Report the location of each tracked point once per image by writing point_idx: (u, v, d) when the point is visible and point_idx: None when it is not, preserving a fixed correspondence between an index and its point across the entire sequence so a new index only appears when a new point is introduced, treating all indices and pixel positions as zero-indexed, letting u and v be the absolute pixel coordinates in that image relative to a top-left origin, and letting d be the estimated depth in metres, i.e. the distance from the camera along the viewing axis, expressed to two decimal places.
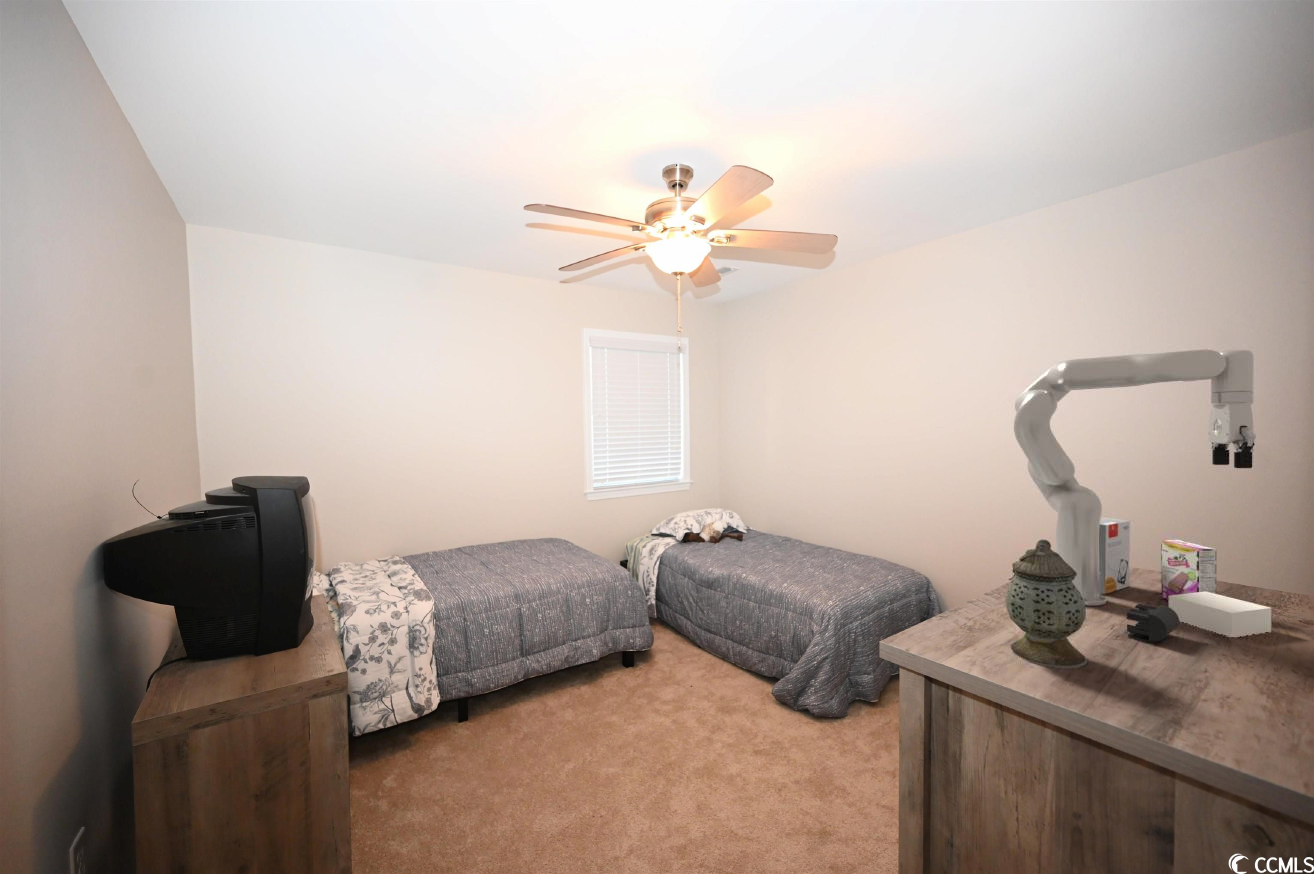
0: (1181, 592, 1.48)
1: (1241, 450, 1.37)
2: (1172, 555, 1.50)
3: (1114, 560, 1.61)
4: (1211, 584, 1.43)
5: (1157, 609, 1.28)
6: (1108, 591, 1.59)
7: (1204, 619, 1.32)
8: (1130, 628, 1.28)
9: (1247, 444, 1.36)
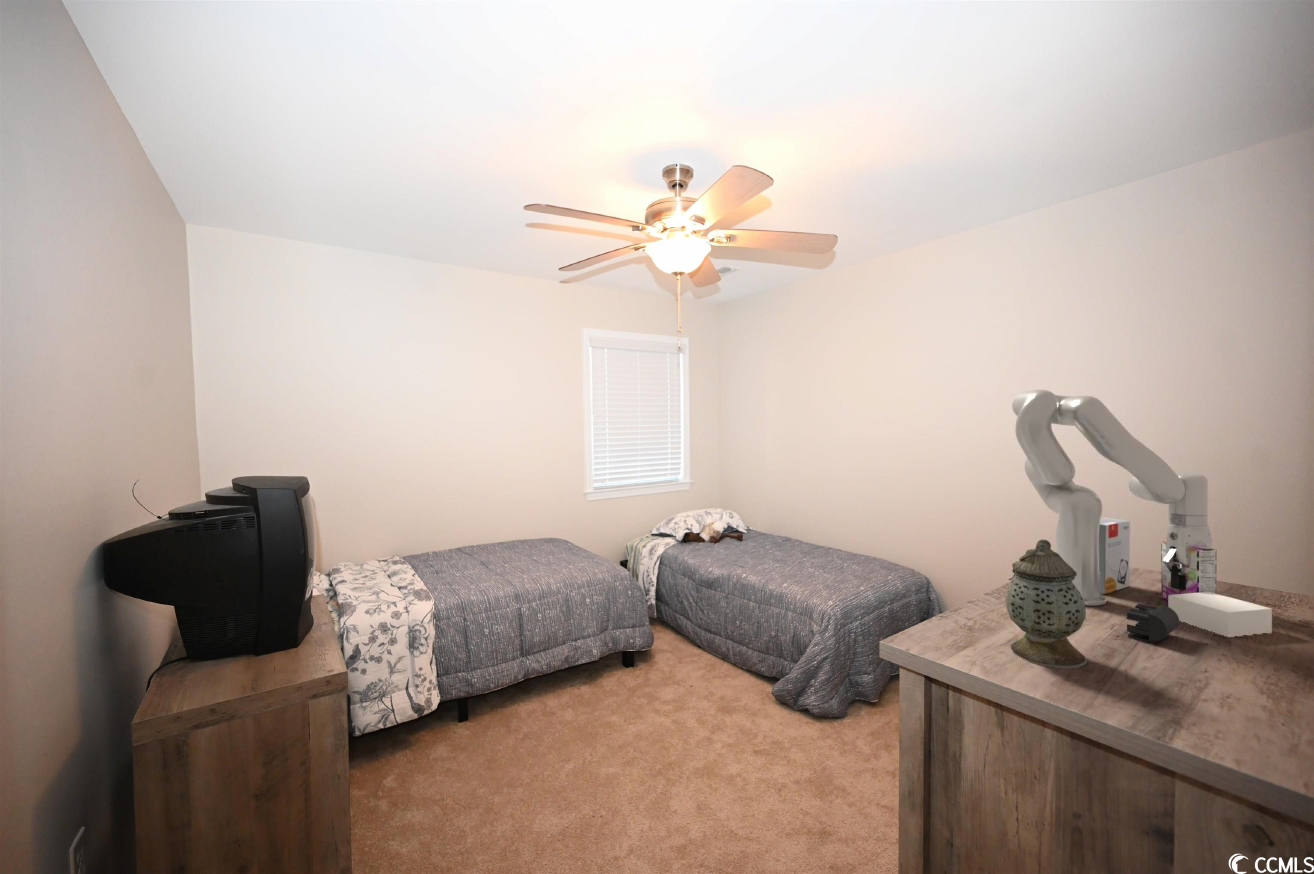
0: (1181, 592, 1.48)
1: None
2: None
3: (1114, 560, 1.61)
4: (1211, 584, 1.43)
5: (1157, 609, 1.28)
6: (1108, 591, 1.59)
7: (1202, 618, 1.33)
8: (1130, 628, 1.28)
9: None
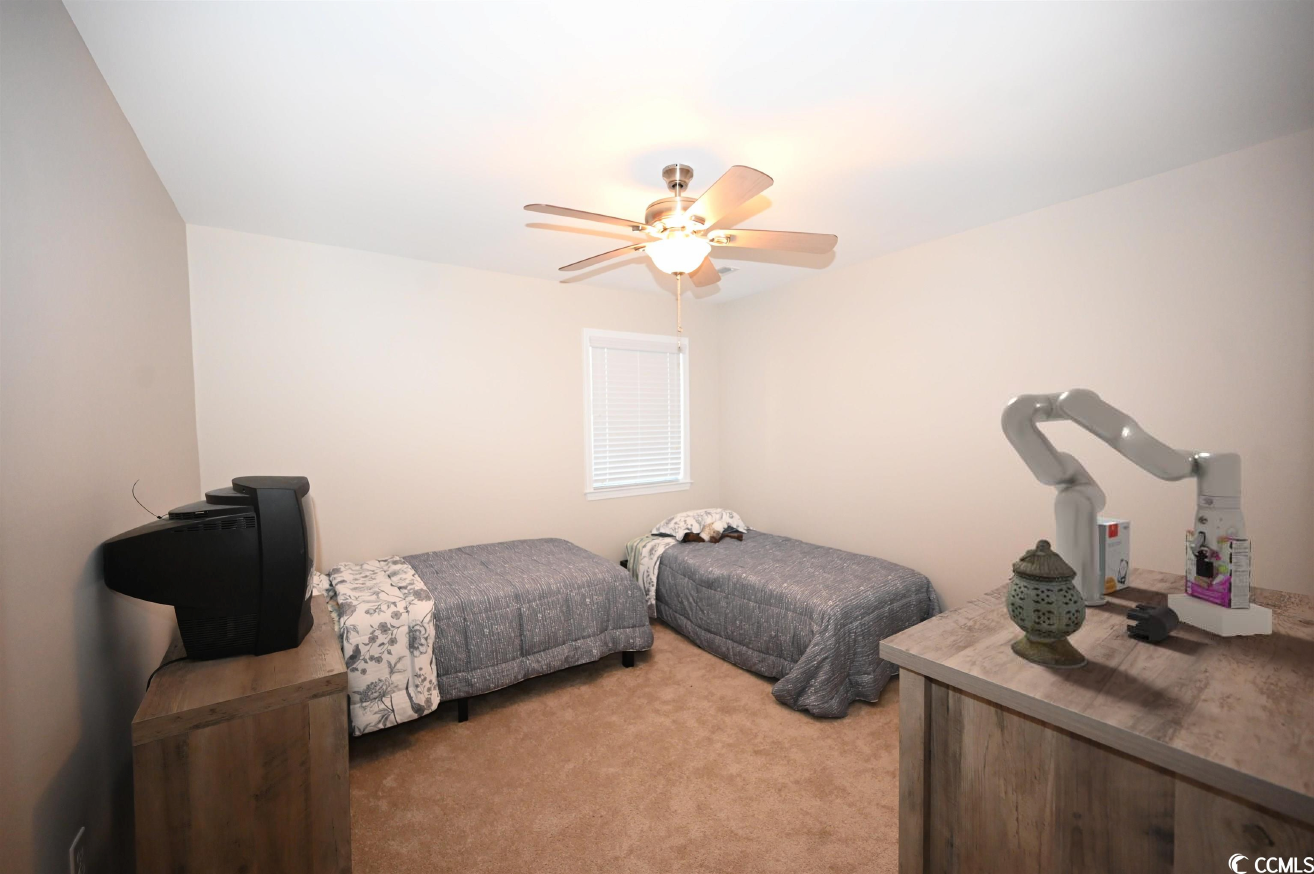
0: (1210, 587, 1.34)
1: None
2: None
3: (1114, 560, 1.61)
4: (1245, 578, 1.29)
5: (1157, 609, 1.28)
6: (1108, 591, 1.59)
7: (1198, 618, 1.33)
8: (1130, 628, 1.28)
9: None
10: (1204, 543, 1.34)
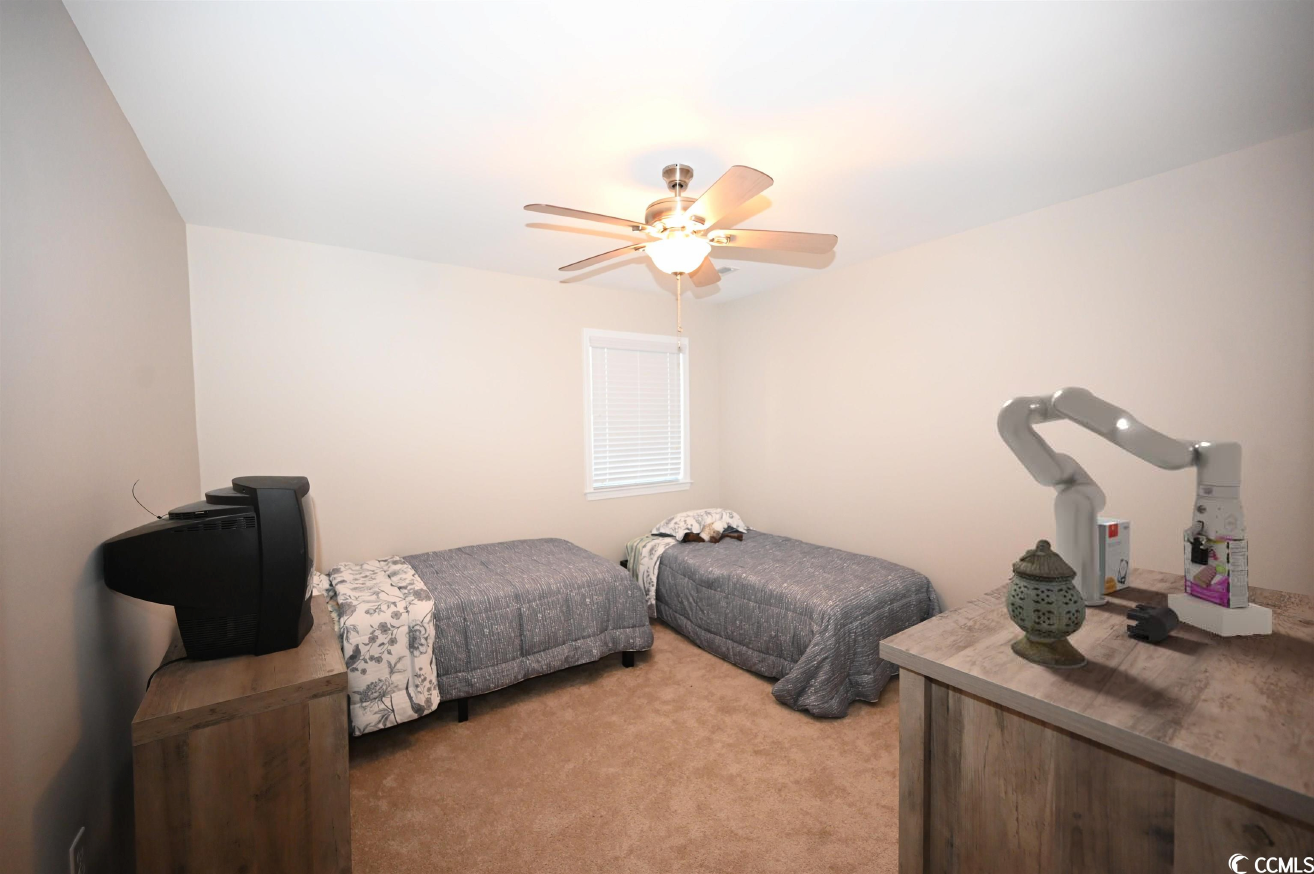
0: (1208, 587, 1.34)
1: None
2: None
3: (1114, 560, 1.61)
4: (1243, 577, 1.29)
5: (1157, 609, 1.28)
6: (1108, 591, 1.59)
7: (1199, 617, 1.33)
8: (1130, 628, 1.28)
9: None
10: (1202, 532, 1.34)
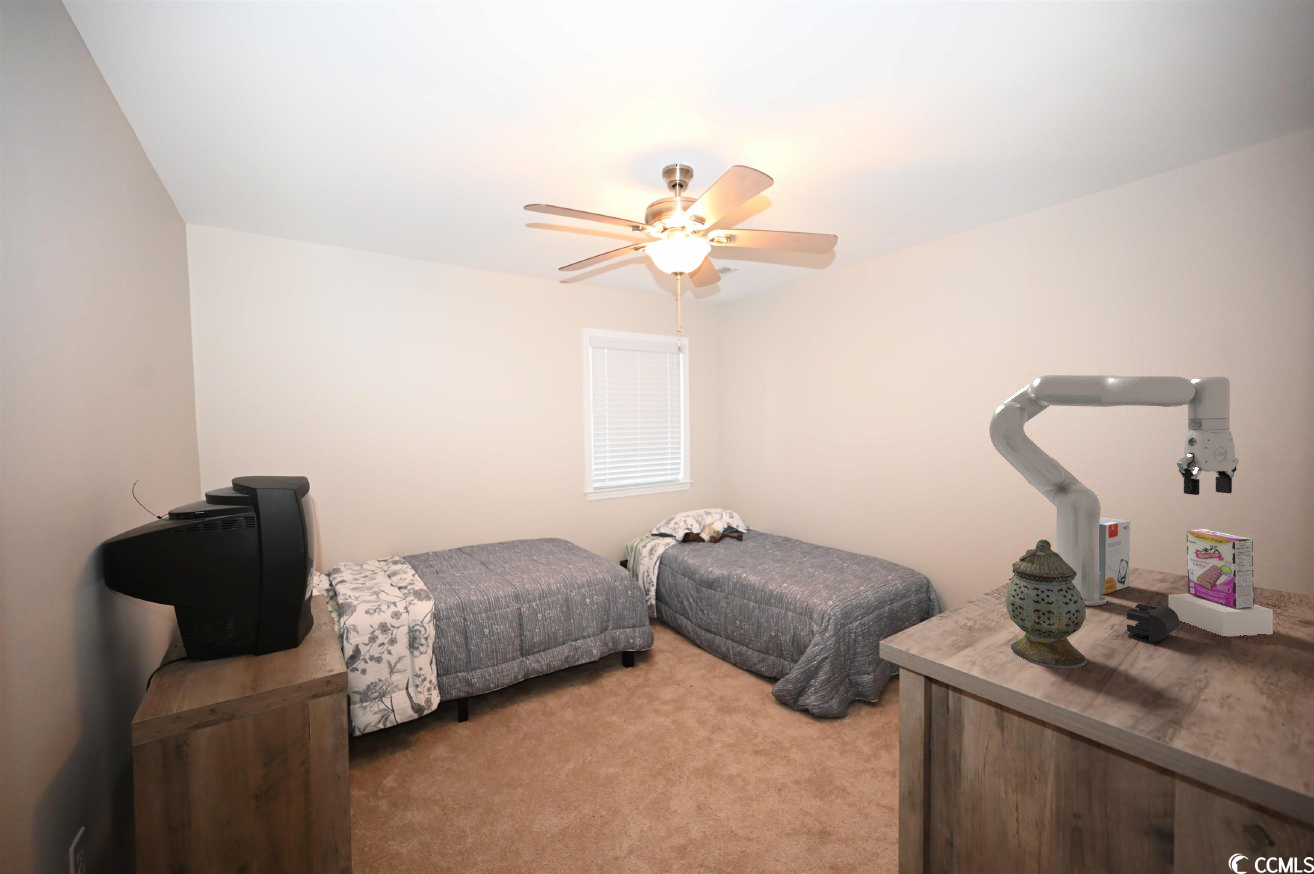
0: (1213, 587, 1.33)
1: None
2: (1201, 547, 1.35)
3: (1114, 560, 1.61)
4: (1248, 577, 1.29)
5: (1157, 609, 1.28)
6: (1108, 591, 1.59)
7: (1199, 618, 1.33)
8: (1130, 628, 1.28)
9: None
10: (1194, 464, 1.41)
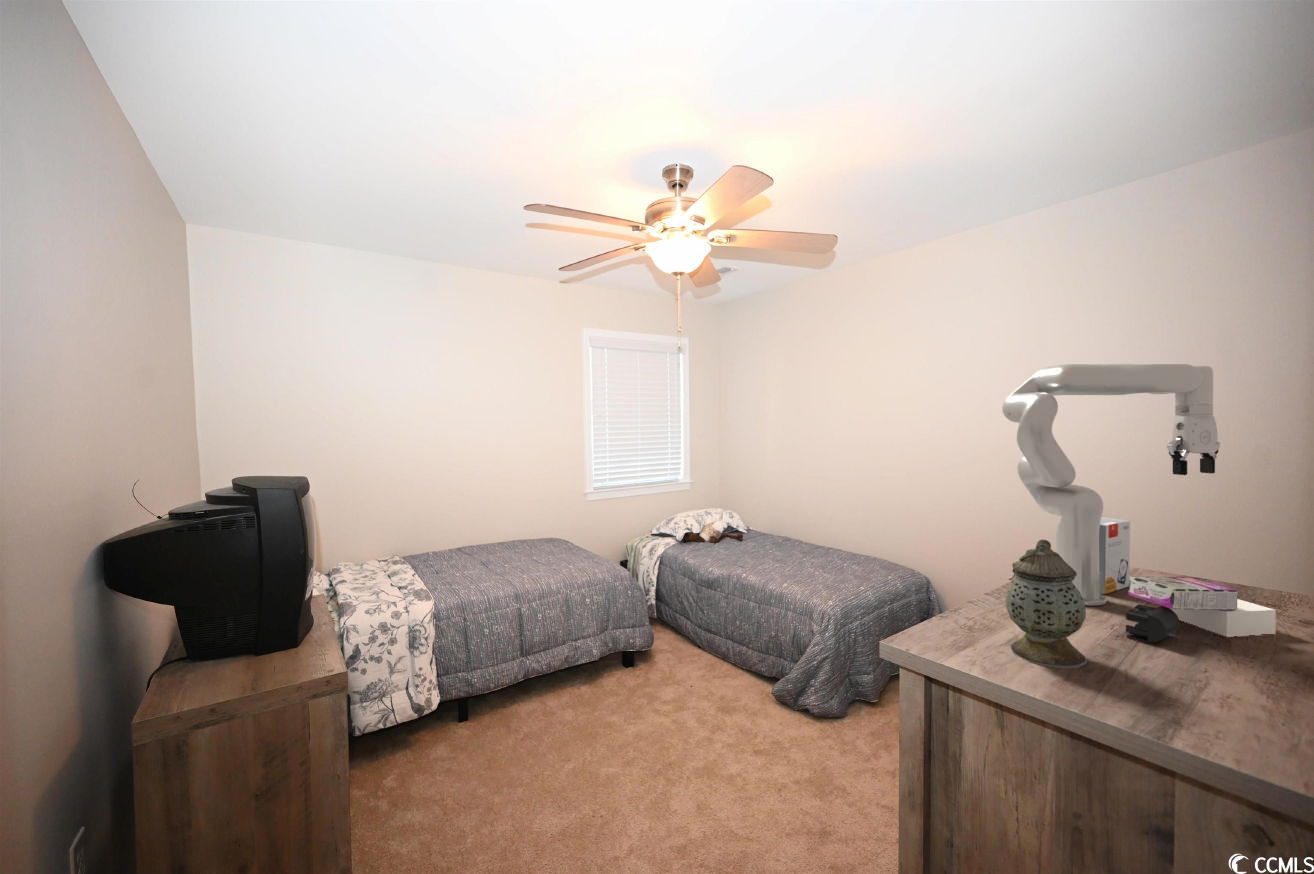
0: None
1: None
2: None
3: (1114, 560, 1.61)
4: (1209, 595, 1.28)
5: (1156, 610, 1.27)
6: (1108, 591, 1.59)
7: (1202, 618, 1.33)
8: (1129, 629, 1.28)
9: None
10: (1181, 447, 1.53)
